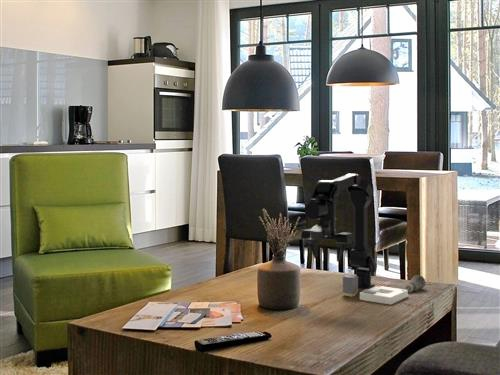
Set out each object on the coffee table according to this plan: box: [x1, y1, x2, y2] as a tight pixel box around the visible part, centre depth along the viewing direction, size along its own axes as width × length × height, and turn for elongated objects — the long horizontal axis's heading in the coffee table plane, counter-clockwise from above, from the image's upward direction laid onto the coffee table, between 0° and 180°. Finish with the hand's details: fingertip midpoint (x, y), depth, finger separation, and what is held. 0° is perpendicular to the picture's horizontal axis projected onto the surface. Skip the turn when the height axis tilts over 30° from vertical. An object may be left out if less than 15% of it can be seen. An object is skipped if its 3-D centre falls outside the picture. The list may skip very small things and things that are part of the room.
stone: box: [404, 274, 427, 293], centre depth 264 cm, size 10×6×8 cm
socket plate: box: [359, 285, 409, 305], centre depth 251 cm, size 14×12×3 cm
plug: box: [342, 274, 359, 297], centre depth 256 cm, size 4×4×7 cm
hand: (326, 259), depth 247 cm, fingers open, 9 cm apart
